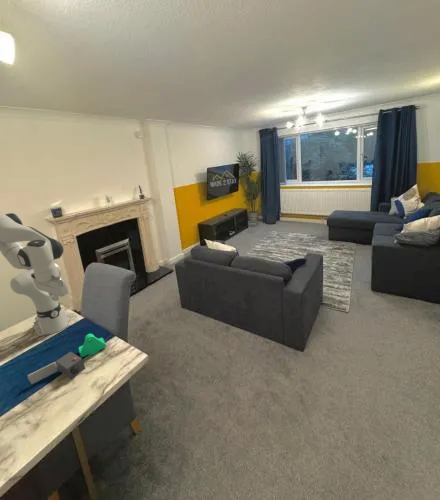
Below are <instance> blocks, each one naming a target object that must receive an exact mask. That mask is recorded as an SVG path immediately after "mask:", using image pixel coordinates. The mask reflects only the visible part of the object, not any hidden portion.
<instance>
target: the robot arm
mask: <svg viewBox="0 0 440 500" xmlns="http://www.w3.org/2000/svg"><path fill="white" fill-rule="evenodd" d="M23 242H27V243H26V244H24V243H23ZM0 253H1V255H2V256H3V257H4V258H5V259H6V261H7V262H8V263H9V264H10V265H11V267H12V268H14V269H17V270H26V271H23V272H21V273H19V274H18V275H16V276H14V277H12V278H11V279H10V282H9V285H10V288H11V290H12V291H13V292H14V293H16V294H17V295H23V296H27V297H28V298H30V299H31V301H32V302H33V305H34V306H35V309H36V312H35V313H36V316H35V318H34V320H35V321H34V322H33V325H32V328H33V330H34V331H35V333H36V335H37V336H38V337H42V336H45V335H46V336H47V335H53V334H56V333H57V332H60V331H62V330H64V329H65V328H66V327H67V326H68V325H69V322H70V321H71V320H72V318H71V317H69V316H68V314H67V312H66V311H65V309H64V308H62V306H61V304H60V302H59V301H60V298H59V297H61V298H62V297H64V296H66V295H68V294H69V289H68V287H67V284H66V282H65V281H64V279H62V278H61V275H62V269H61V267H60V265H58V264H57V263H55V261H54V260H57V259H58V260H59V259H60V258H61V257H62V256H63V254H64V247H63V245H62V243H61V242H60V241H58V240H57V239H54V238H51V237H49V236H48V235H46V234H44V233H43V232H41V231H39V230H37V229H36V228H34V227H33V226H32V227H31V226H26V225H24V224H23V221H22V219H21V218H20V217H19V216H18V215H17V214H16V213H13V212H11V213H10V212H8V213H5V214H4V213H2V212H0Z"/></svg>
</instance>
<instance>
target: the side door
mask: <svg viewBox="0 0 440 500" xmlns="http://www.w3.org/2000/svg"><path fill="white" fill-rule="evenodd" d="M58 371H59V368H58V365H57V363H56V361H53V362H51V363H49V364H48V365H46V366H43V367H41V368H39V369H37V370H36V371H35V370H34V372H31V373H29V374H27V380H28V381H29V382H30V384H31V385H33V384H35V383H37V382H39V381H41V380H43V379H45V378H46V377H48V376H50V375H52V374H54V373H56V372H58Z"/></svg>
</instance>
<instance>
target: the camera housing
mask: <svg viewBox="0 0 440 500" xmlns="http://www.w3.org/2000/svg"><path fill="white" fill-rule="evenodd" d="M55 362H56V365H57V367H58V371H59V372H60V373H61V374H63V375H64V376H66V377H67V378H69V379H70V380H72V379H73V378H75V377H76V376H77V375H79V374H81V373H82V371H84V370H85V369H86V367H85V363H84V361H83V357H82V358H81V356H79V355H77V354H75V353H74V352H72V351H69V352H68V353H67V354H64V355H63V356H62V357H60V358H58V359H57V360H56V361H55Z"/></svg>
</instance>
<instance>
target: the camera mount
mask: <svg viewBox="0 0 440 500" xmlns="http://www.w3.org/2000/svg"><path fill="white" fill-rule="evenodd" d="M106 347H107V345H106V341H105V339H104V338H103V337H100V338H98V337H96V336H95V334H93V333H88V334H86V335H85V336H84V343H83V344H82V345H81V346H79V347H78V352H79V355H80V358H82V359H83V358H84V357H86V356H92V355H94V354H97V353H99V352H100V350H103V349H105V348H106Z"/></svg>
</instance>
